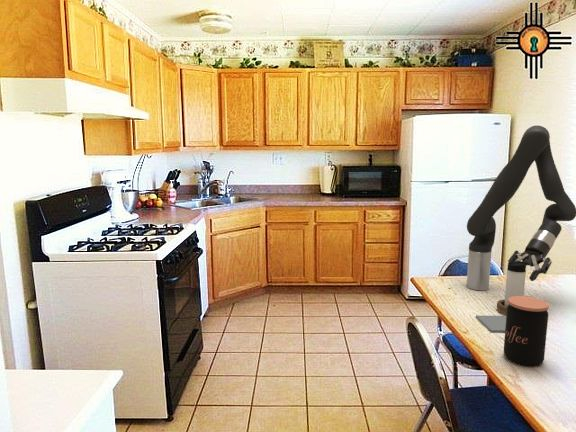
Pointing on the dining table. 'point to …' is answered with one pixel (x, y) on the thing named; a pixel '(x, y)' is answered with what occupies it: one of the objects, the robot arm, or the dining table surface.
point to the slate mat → (493, 323)
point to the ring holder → (501, 307)
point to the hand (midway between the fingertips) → (520, 276)
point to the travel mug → (515, 280)
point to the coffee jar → (526, 330)
